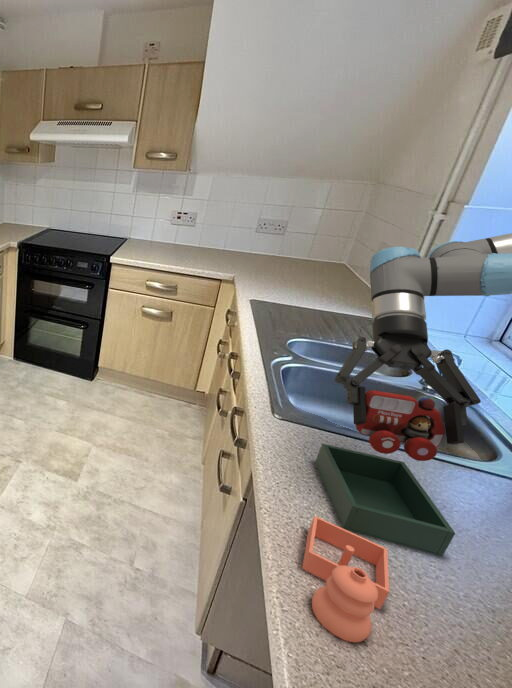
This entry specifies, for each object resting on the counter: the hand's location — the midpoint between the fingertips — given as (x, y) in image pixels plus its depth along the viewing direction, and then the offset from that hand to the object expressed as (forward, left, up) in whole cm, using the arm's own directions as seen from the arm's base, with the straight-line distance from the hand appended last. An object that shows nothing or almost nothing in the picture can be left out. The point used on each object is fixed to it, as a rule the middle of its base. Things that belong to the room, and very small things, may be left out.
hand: (406, 433), depth 72 cm
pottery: (+11, +22, -18) cm, 30 cm away
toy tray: (0, 0, -17) cm, 17 cm away
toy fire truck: (0, -2, -5) cm, 5 cm away
